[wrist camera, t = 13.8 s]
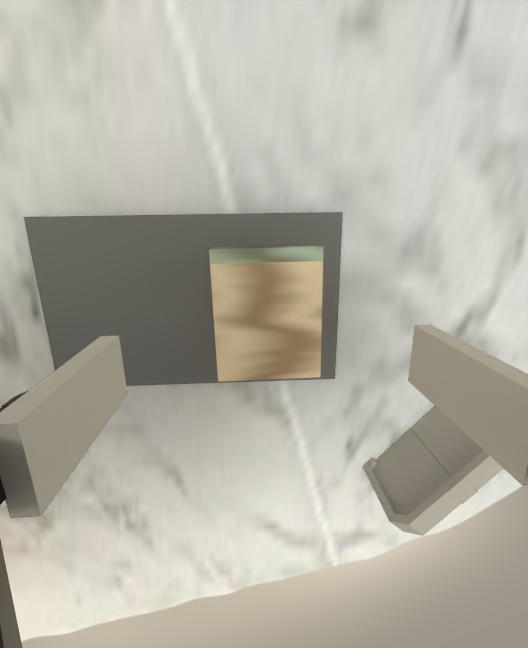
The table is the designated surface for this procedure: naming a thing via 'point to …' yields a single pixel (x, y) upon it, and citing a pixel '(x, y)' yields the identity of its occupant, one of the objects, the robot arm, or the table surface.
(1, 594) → the robot arm
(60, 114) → the table surface
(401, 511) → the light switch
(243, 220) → the mat
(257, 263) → the tan and green block
